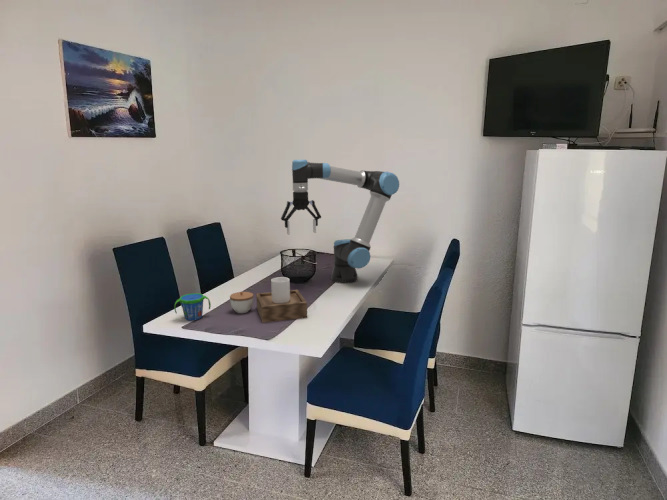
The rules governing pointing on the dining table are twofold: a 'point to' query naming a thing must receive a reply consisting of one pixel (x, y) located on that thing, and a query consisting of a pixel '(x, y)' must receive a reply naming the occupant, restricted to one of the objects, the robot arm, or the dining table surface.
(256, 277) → the dining table surface
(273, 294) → the mug
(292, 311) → the walnut box
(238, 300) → the lidded jar
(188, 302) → the snack cup
